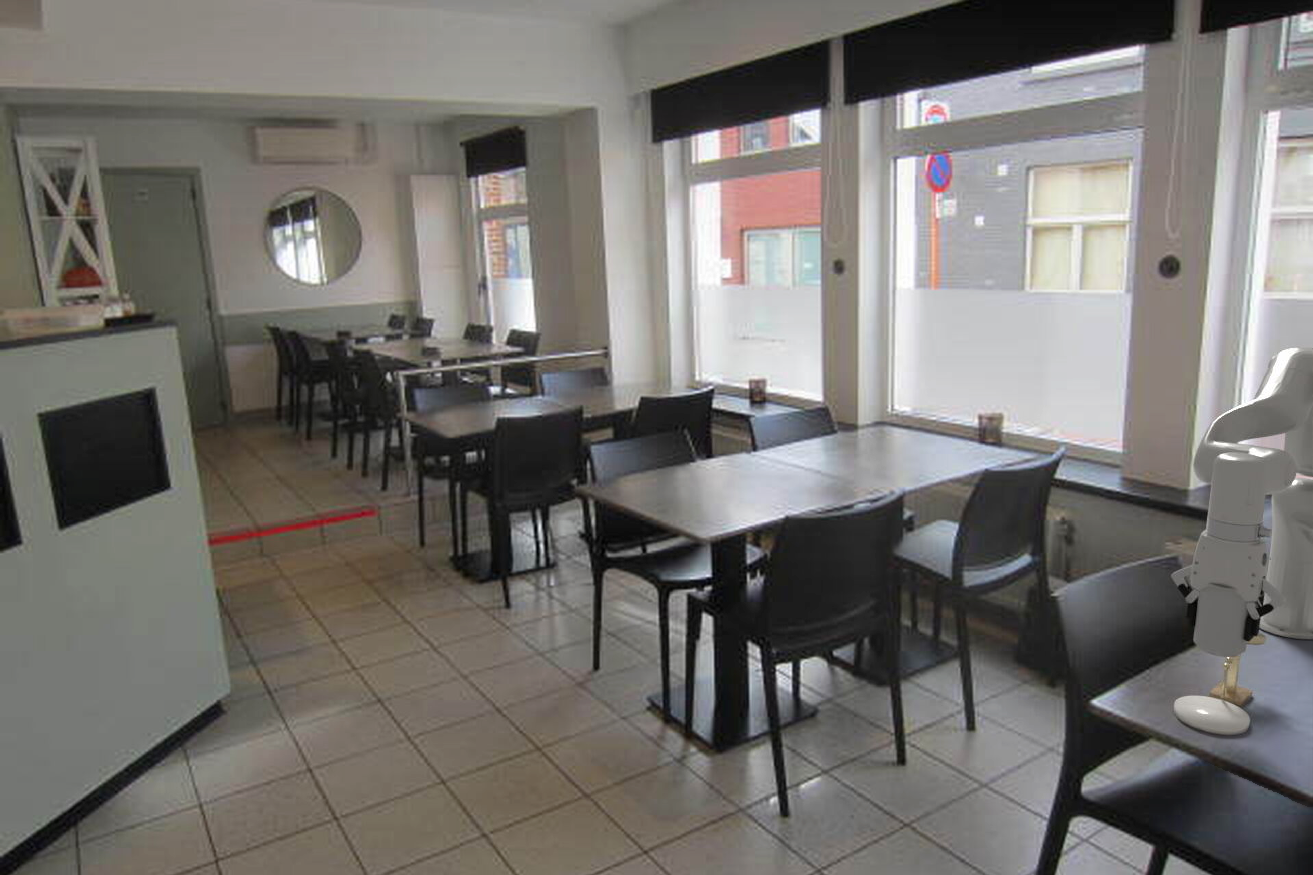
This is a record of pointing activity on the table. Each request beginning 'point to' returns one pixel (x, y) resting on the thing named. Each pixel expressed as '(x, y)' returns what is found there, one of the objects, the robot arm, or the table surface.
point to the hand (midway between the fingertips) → (1221, 630)
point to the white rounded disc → (1211, 715)
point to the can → (1220, 621)
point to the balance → (1234, 679)
